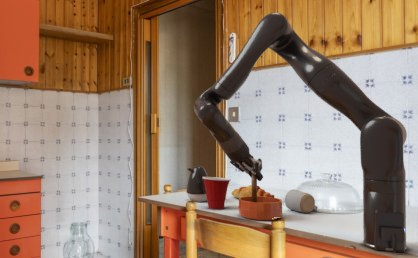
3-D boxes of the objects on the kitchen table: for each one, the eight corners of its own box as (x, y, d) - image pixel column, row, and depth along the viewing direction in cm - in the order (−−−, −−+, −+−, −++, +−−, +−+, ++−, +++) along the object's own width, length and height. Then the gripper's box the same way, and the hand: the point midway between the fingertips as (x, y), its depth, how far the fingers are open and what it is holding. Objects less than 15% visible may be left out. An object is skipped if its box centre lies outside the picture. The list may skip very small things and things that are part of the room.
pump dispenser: (181, 200, 174) (181, 165, 174) (201, 198, 179) (201, 164, 179) (194, 203, 165) (194, 166, 165) (215, 201, 169) (215, 165, 169)
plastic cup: (236, 209, 153) (236, 177, 153) (212, 211, 149) (212, 179, 149) (220, 204, 163) (220, 175, 163) (197, 206, 159) (197, 176, 159)
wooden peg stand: (262, 210, 138) (262, 168, 138) (246, 209, 139) (246, 167, 139) (262, 207, 143) (261, 166, 143) (246, 206, 144) (246, 166, 144)
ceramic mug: (301, 214, 142) (301, 192, 142) (284, 210, 150) (284, 189, 150) (323, 212, 146) (323, 191, 146) (305, 208, 154) (305, 188, 154)
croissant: (228, 205, 180) (222, 190, 178) (239, 192, 186) (234, 177, 183) (271, 211, 164) (265, 194, 161) (282, 197, 169) (277, 181, 167)
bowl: (283, 222, 131) (283, 204, 131) (238, 219, 135) (238, 201, 135) (280, 213, 144) (280, 197, 144) (239, 211, 148) (239, 195, 148)
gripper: (254, 137, 131) (279, 172, 138) (224, 136, 143) (249, 169, 149) (242, 153, 129) (268, 189, 135) (213, 152, 141) (238, 184, 147)
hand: (258, 178), depth 142 cm, fingers closed on wooden peg stand
